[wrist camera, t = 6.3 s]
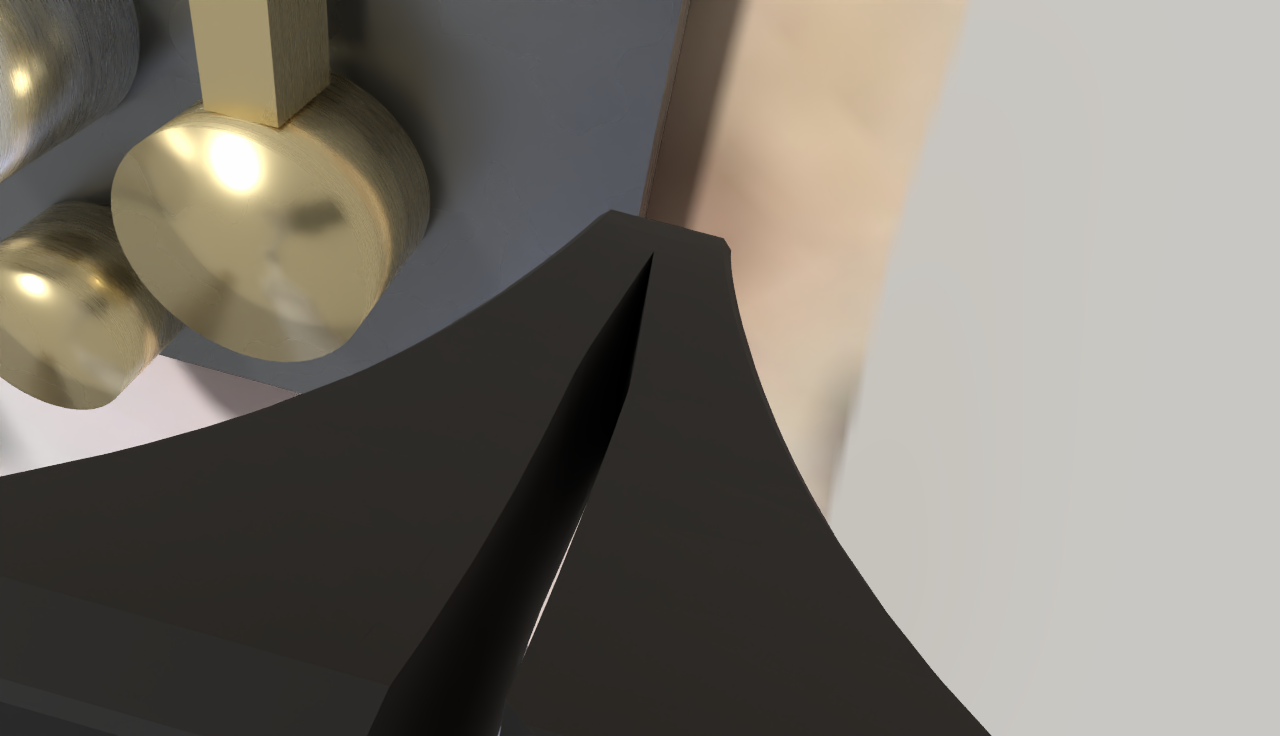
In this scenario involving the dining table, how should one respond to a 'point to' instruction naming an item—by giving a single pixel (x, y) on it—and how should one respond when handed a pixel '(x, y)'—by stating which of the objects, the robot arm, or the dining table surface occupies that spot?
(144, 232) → the brass lever handle
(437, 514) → the robot arm
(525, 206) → the levelling base
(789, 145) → the dining table surface
